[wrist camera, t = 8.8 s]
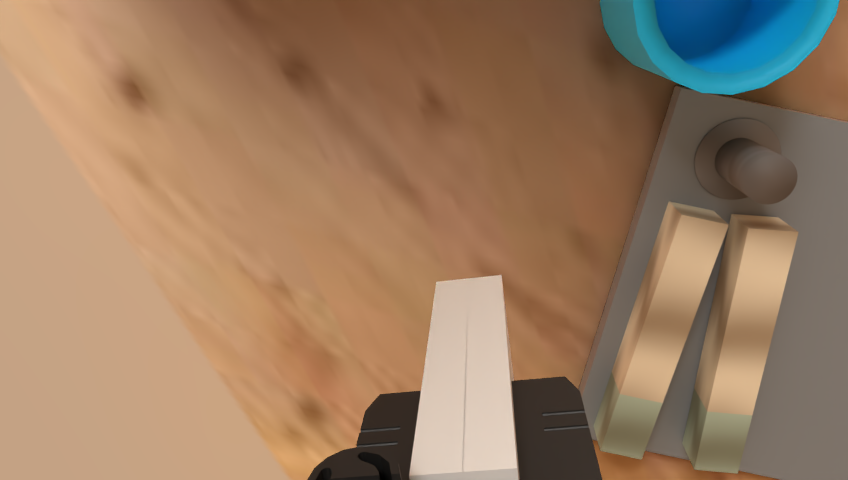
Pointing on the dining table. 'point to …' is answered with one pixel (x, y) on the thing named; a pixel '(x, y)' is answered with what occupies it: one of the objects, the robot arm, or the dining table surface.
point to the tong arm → (737, 340)
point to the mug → (717, 38)
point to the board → (800, 306)
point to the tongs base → (684, 278)
